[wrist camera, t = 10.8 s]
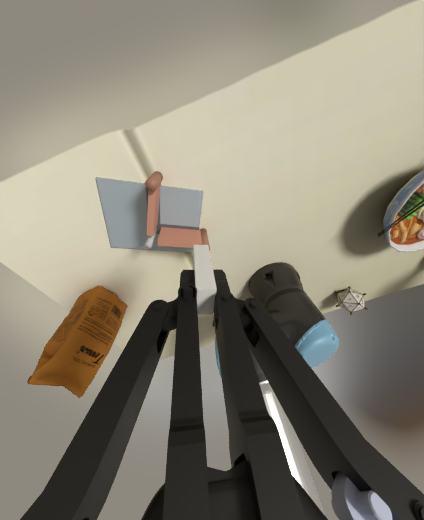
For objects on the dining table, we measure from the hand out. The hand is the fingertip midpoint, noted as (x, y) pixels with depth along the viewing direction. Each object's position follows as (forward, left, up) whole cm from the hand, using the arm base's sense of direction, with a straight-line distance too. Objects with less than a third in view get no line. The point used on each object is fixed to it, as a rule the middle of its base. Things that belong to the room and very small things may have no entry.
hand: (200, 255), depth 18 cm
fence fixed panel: (-8, +3, -22) cm, 23 cm away
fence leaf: (-1, +8, -21) cm, 23 cm away
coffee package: (-33, +23, -22) cm, 46 cm away
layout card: (-6, +8, -22) cm, 24 cm away
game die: (-27, -56, -22) cm, 66 cm away
